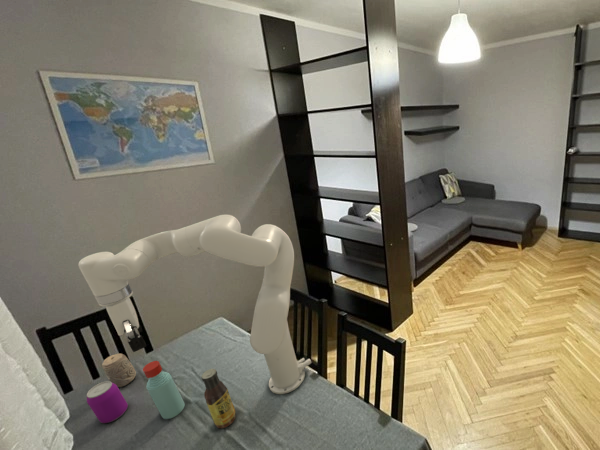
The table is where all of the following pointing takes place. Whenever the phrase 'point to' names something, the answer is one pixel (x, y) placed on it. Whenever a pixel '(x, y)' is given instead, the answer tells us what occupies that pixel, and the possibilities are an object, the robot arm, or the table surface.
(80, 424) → the table surface
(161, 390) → the water bottle
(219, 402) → the sauce bottle
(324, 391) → the table surface
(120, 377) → the carving
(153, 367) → the cap
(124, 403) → the beverage can
